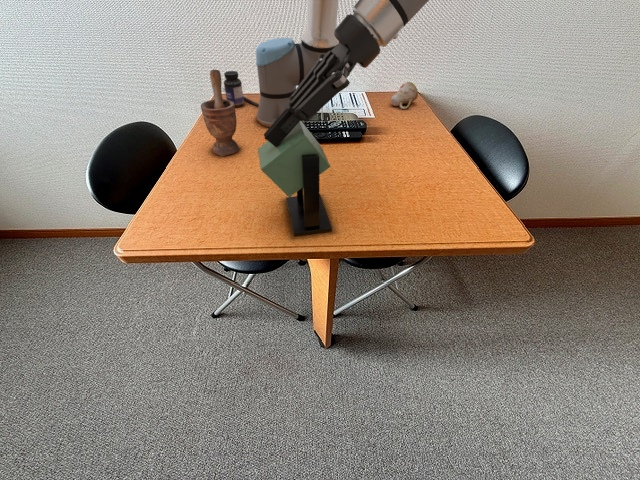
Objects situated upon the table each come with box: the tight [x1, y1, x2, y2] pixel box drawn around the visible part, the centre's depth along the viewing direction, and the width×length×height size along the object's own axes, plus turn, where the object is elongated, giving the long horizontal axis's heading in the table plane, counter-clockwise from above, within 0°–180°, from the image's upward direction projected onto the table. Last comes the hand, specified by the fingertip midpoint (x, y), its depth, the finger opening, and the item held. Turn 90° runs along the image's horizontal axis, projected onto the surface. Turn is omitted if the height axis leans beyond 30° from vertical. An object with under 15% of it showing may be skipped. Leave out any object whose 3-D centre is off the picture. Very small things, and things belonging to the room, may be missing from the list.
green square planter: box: [257, 121, 332, 197], centre depth 65 cm, size 8×8×10 cm
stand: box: [285, 154, 333, 237], centre depth 69 cm, size 8×13×17 cm, turn 11°
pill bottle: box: [223, 70, 245, 108], centre depth 122 cm, size 6×6×11 cm
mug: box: [390, 81, 419, 110], centre depth 124 cm, size 8×10×10 cm
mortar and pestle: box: [200, 69, 240, 157], centre depth 93 cm, size 12×9×20 cm
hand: (270, 140), depth 62 cm, fingers closed, pressing on green square planter
